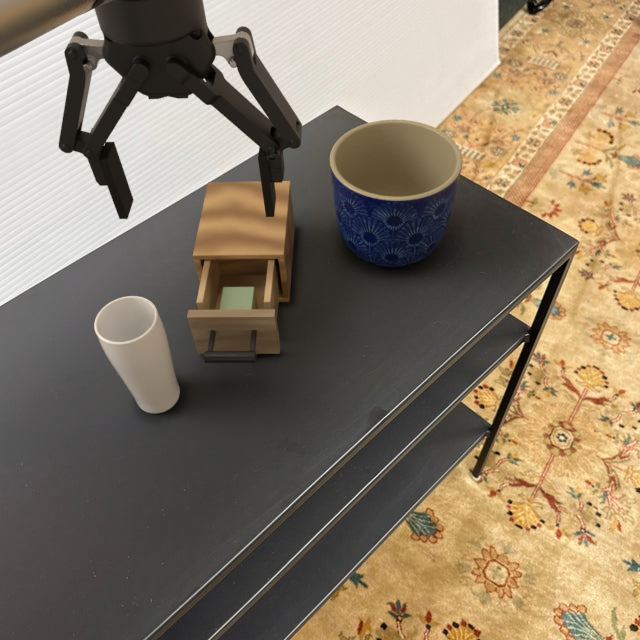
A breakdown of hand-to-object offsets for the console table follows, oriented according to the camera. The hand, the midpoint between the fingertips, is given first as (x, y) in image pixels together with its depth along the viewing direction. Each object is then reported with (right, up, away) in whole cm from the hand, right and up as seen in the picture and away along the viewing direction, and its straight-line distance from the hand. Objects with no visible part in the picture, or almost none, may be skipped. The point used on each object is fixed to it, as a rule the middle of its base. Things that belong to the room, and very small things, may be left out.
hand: (198, 208), depth 60 cm
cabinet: (+2, -2, +33) cm, 33 cm away
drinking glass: (-8, -20, +19) cm, 29 cm away
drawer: (+1, -11, +24) cm, 27 cm away
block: (+1, -10, +24) cm, 26 cm away
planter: (+22, +1, +34) cm, 41 cm away
